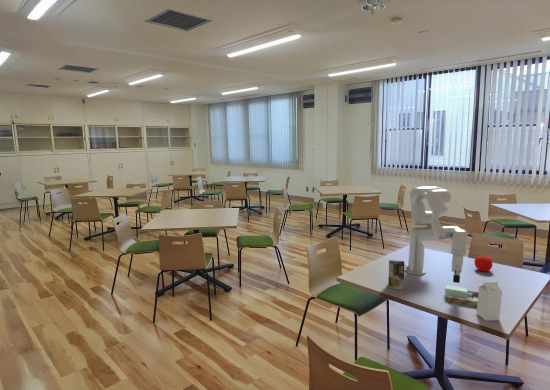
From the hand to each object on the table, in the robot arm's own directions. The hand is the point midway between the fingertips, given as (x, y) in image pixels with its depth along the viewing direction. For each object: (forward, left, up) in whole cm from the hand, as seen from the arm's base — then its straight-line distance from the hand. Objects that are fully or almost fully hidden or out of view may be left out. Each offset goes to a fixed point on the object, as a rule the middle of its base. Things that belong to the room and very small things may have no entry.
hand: (456, 282), depth 190 cm
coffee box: (-33, +1, -10) cm, 34 cm away
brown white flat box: (+7, 0, -10) cm, 12 cm away
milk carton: (+14, -17, -10) cm, 24 cm away
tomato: (+18, +56, -10) cm, 60 cm away
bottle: (-5, 0, -6) cm, 8 cm away
